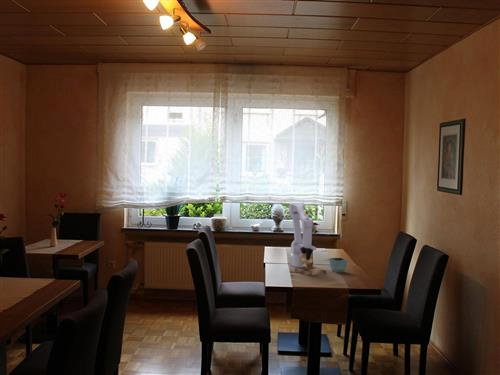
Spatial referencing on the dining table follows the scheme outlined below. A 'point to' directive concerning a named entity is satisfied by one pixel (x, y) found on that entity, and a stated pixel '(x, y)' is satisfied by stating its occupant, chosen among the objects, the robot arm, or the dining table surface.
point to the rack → (305, 271)
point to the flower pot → (338, 264)
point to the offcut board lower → (317, 273)
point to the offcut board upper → (315, 270)
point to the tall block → (303, 258)
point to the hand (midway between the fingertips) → (306, 259)
